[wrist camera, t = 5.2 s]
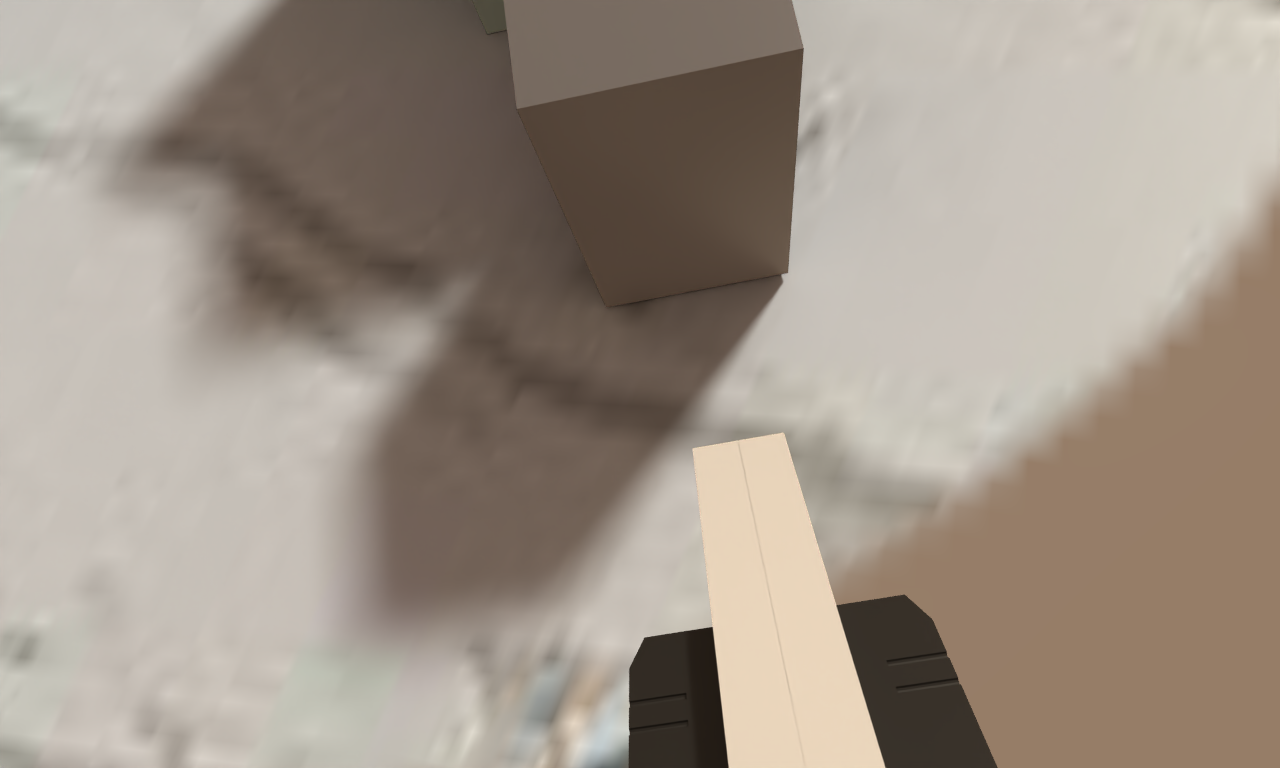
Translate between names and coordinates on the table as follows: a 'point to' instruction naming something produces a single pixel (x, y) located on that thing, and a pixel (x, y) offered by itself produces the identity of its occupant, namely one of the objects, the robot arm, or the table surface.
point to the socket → (491, 14)
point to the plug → (664, 134)
